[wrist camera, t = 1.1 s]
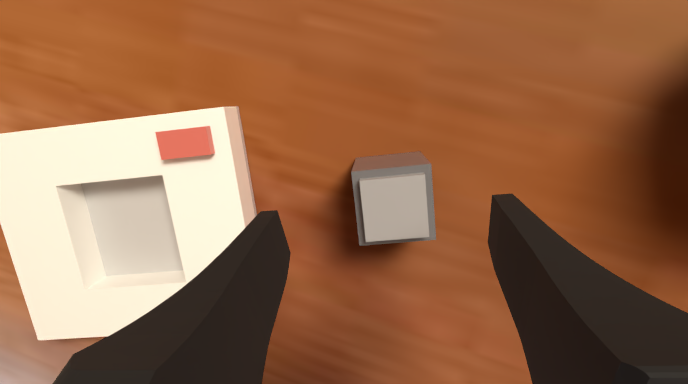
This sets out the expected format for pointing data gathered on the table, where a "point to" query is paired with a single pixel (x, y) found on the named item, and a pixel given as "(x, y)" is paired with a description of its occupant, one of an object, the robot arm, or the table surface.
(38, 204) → the faceplate
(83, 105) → the table surface
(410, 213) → the plug
